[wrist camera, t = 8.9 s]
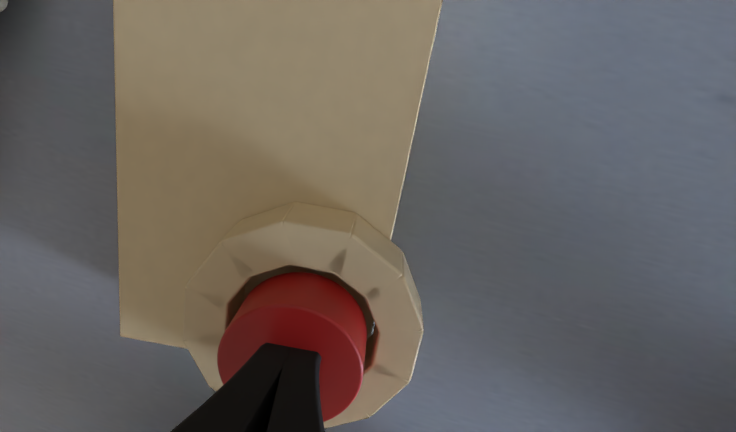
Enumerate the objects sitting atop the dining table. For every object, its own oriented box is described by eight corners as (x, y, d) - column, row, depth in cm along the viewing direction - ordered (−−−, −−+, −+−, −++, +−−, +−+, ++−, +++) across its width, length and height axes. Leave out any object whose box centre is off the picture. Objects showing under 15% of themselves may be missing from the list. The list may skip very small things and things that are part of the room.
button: (355, 390, 13) (350, 439, 11) (234, 368, 13) (211, 413, 11) (378, 284, 12) (375, 321, 10) (244, 259, 12) (220, 292, 10)
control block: (393, 359, 17) (394, 445, 13) (156, 315, 17) (87, 390, 13) (501, -85, 12) (553, -153, 8) (162, -150, 12) (53, -251, 8)
